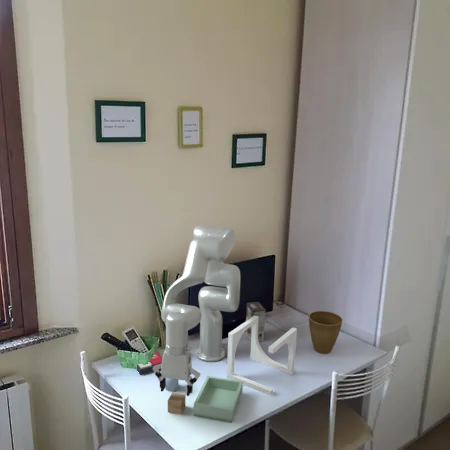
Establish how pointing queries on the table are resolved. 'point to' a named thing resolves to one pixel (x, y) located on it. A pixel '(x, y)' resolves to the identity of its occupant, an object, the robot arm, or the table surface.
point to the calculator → (149, 364)
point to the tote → (218, 399)
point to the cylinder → (171, 384)
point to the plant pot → (324, 330)
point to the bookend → (260, 353)
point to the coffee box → (259, 311)
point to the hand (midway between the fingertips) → (176, 391)
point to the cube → (176, 403)
